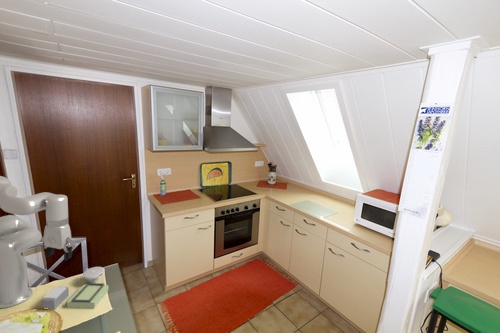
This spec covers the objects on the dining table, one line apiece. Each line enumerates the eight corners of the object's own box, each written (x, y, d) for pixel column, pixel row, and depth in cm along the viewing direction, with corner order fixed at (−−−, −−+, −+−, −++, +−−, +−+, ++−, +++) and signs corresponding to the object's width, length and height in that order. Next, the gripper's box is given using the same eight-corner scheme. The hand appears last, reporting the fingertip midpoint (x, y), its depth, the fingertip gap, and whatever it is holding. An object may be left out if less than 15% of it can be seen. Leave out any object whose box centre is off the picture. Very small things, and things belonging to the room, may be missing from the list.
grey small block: (42, 310, 101) (42, 298, 100) (57, 295, 110) (57, 284, 109) (54, 310, 102) (54, 298, 101) (68, 296, 110) (68, 285, 110)
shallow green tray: (67, 307, 103) (66, 300, 103) (84, 289, 115) (83, 282, 115) (94, 308, 104) (94, 300, 104) (108, 290, 116) (108, 283, 116)
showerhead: (93, 263, 126) (108, 267, 124) (93, 275, 127) (108, 278, 125) (77, 273, 116) (93, 277, 115) (77, 285, 118) (93, 290, 116)
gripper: (32, 222, 98) (34, 258, 101) (66, 228, 96) (67, 264, 98) (49, 216, 106) (51, 250, 108) (81, 221, 103) (82, 256, 106)
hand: (59, 257), depth 103 cm, fingers open, 9 cm apart
